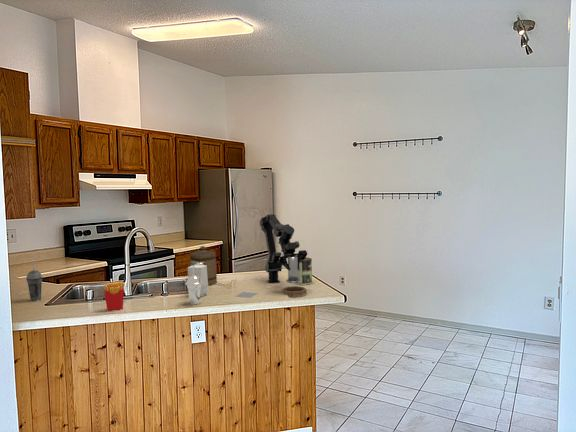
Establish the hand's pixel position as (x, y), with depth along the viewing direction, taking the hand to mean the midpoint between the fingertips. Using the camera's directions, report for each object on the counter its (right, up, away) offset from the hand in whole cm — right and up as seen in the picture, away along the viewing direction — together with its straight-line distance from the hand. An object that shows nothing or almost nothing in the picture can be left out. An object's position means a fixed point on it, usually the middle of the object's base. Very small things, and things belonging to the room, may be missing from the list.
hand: (293, 269), depth 226 cm
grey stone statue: (-49, -15, -11) cm, 52 cm away
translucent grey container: (-52, -12, +30) cm, 62 cm away
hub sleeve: (0, -6, +2) cm, 7 cm away
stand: (-24, -14, -1) cm, 28 cm away
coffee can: (+6, -11, +28) cm, 30 cm away
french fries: (-85, -17, -19) cm, 89 cm away
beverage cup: (-133, -16, -1) cm, 134 cm away
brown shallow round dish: (0, -13, +3) cm, 13 cm away
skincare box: (-50, -14, +4) cm, 52 cm away
